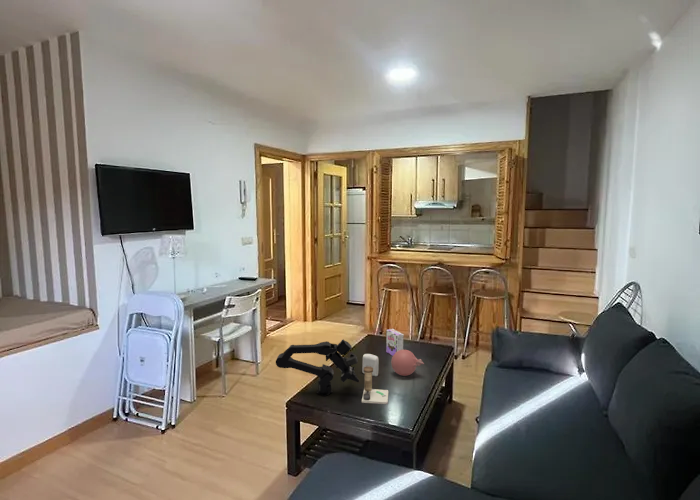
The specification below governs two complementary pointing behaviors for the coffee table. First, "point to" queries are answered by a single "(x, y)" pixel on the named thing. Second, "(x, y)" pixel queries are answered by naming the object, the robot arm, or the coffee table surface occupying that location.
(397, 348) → the candy box
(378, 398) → the dial board
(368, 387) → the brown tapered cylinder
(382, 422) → the coffee table surface
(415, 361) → the balloon
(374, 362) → the photo printer
